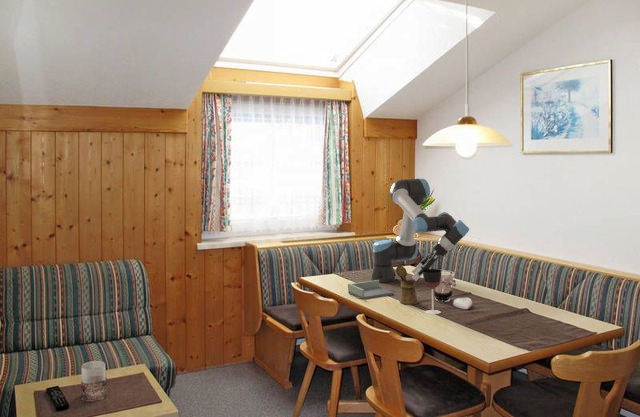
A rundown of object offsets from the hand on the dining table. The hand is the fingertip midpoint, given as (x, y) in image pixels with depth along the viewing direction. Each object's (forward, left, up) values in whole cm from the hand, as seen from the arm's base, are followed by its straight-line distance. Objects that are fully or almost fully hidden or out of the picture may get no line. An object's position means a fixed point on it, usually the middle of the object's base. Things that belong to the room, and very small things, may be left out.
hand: (413, 276), depth 305 cm
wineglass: (+3, +20, -14) cm, 24 cm away
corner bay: (+10, -27, -13) cm, 32 cm away
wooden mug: (+3, -3, -14) cm, 14 cm away
